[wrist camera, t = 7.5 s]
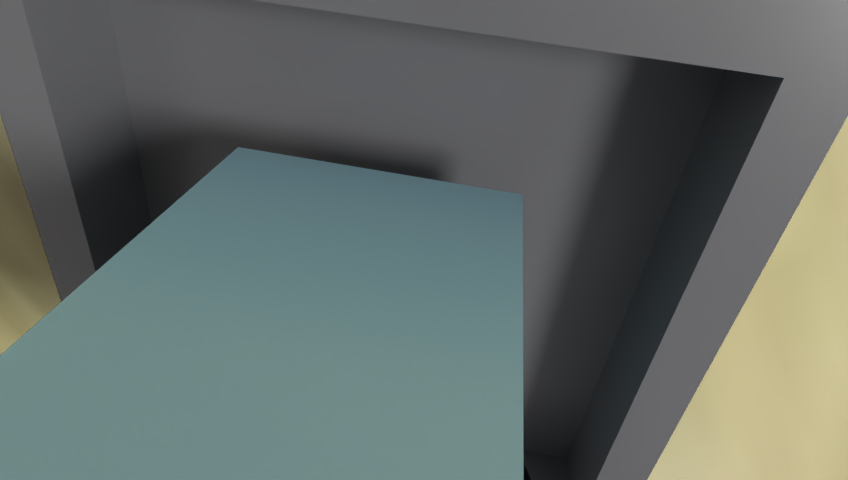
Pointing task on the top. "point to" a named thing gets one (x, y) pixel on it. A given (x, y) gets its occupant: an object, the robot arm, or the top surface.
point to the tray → (467, 156)
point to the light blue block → (285, 337)
